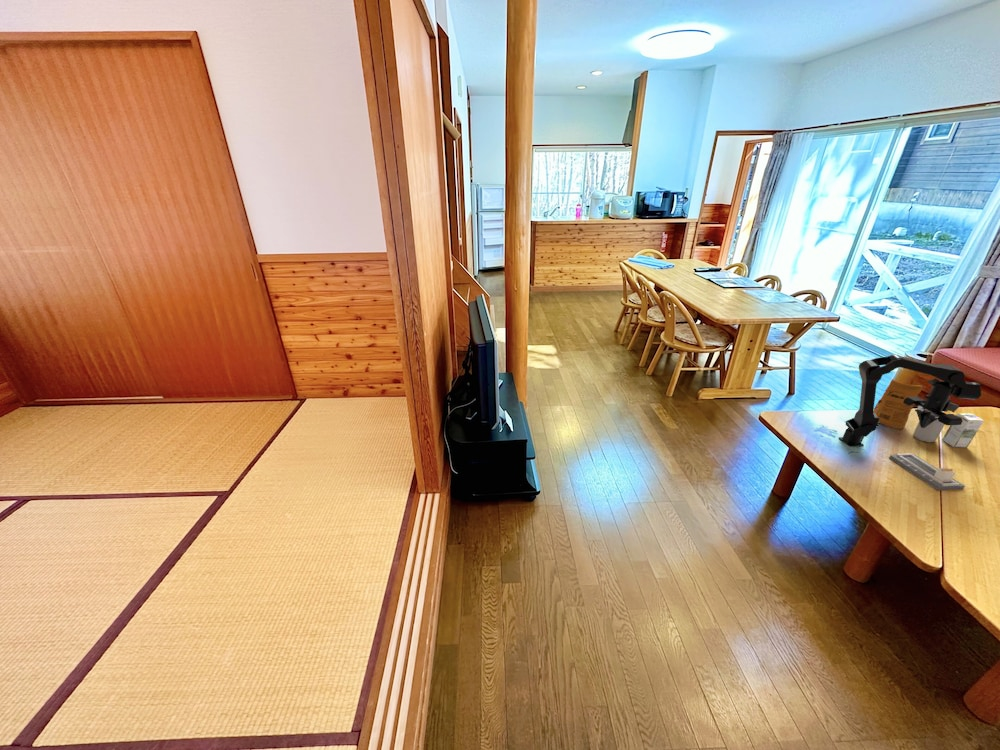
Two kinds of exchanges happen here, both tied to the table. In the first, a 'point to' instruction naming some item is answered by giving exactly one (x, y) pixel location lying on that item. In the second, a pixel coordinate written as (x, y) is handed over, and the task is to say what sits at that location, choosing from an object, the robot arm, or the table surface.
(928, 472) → the fader console
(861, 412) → the robot arm
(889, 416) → the coffee package
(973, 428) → the syrup box
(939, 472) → the fader knob
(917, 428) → the can
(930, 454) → the table surface
